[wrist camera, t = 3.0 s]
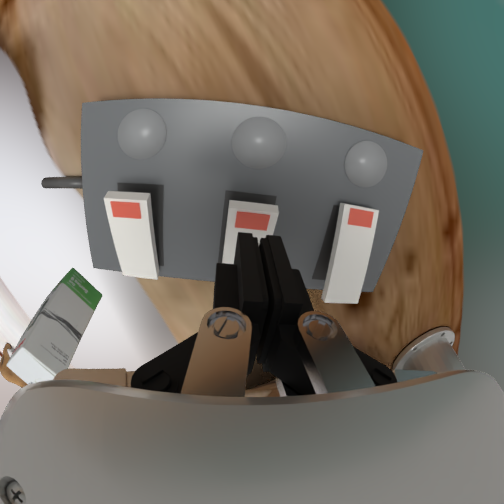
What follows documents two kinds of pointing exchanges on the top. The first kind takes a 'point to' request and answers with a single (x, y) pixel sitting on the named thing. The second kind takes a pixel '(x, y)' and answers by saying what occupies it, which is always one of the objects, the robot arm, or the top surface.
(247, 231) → the middle rocker
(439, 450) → the robot arm
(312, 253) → the grey switch panel
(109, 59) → the top surface
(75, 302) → the ink box
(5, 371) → the lion figurine
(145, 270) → the block
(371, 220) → the far-end rocker
